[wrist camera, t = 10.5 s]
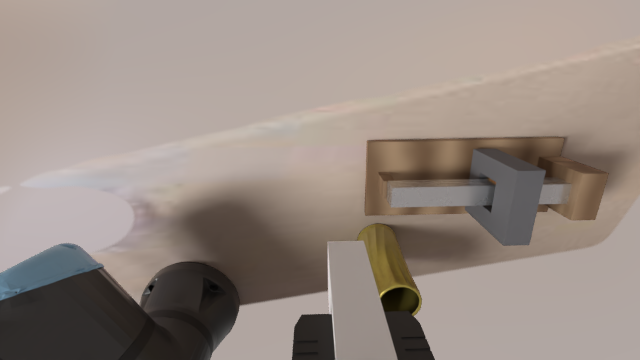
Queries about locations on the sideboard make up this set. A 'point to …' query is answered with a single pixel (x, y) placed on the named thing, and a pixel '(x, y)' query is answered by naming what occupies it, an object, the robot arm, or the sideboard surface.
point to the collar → (507, 195)
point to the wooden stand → (455, 163)
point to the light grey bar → (463, 192)
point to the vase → (390, 270)
